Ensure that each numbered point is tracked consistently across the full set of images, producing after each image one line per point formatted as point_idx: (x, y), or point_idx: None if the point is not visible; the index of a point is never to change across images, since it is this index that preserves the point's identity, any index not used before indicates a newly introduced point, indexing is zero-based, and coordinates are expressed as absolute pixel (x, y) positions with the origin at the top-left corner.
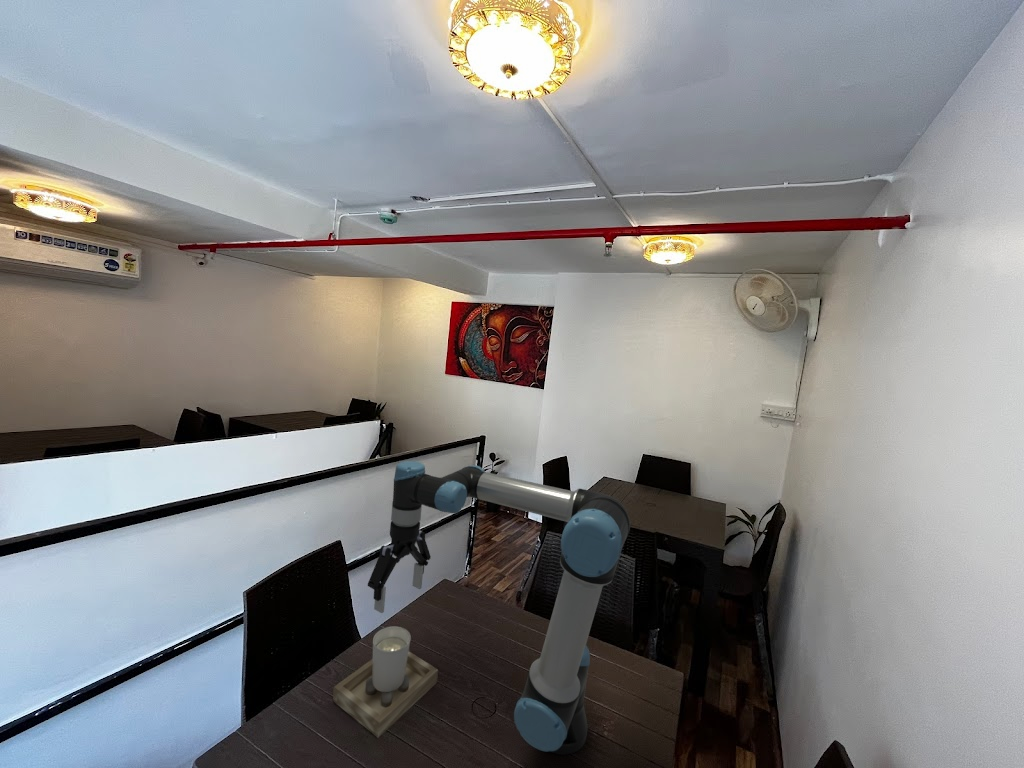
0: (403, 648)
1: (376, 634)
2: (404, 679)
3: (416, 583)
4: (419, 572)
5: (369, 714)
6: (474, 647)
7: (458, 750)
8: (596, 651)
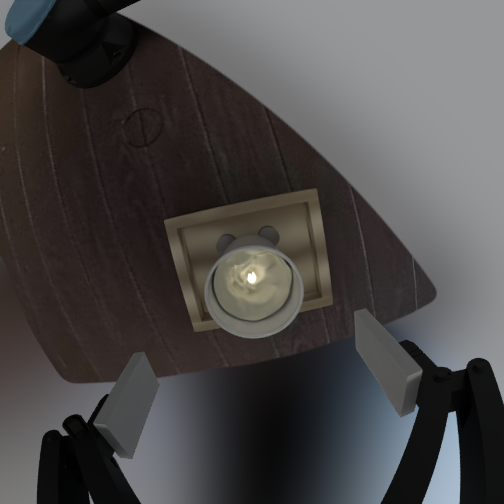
0: (249, 245)
1: (276, 330)
2: (226, 245)
3: (146, 379)
4: (122, 408)
5: (320, 214)
6: (77, 243)
7: (225, 92)
8: None
